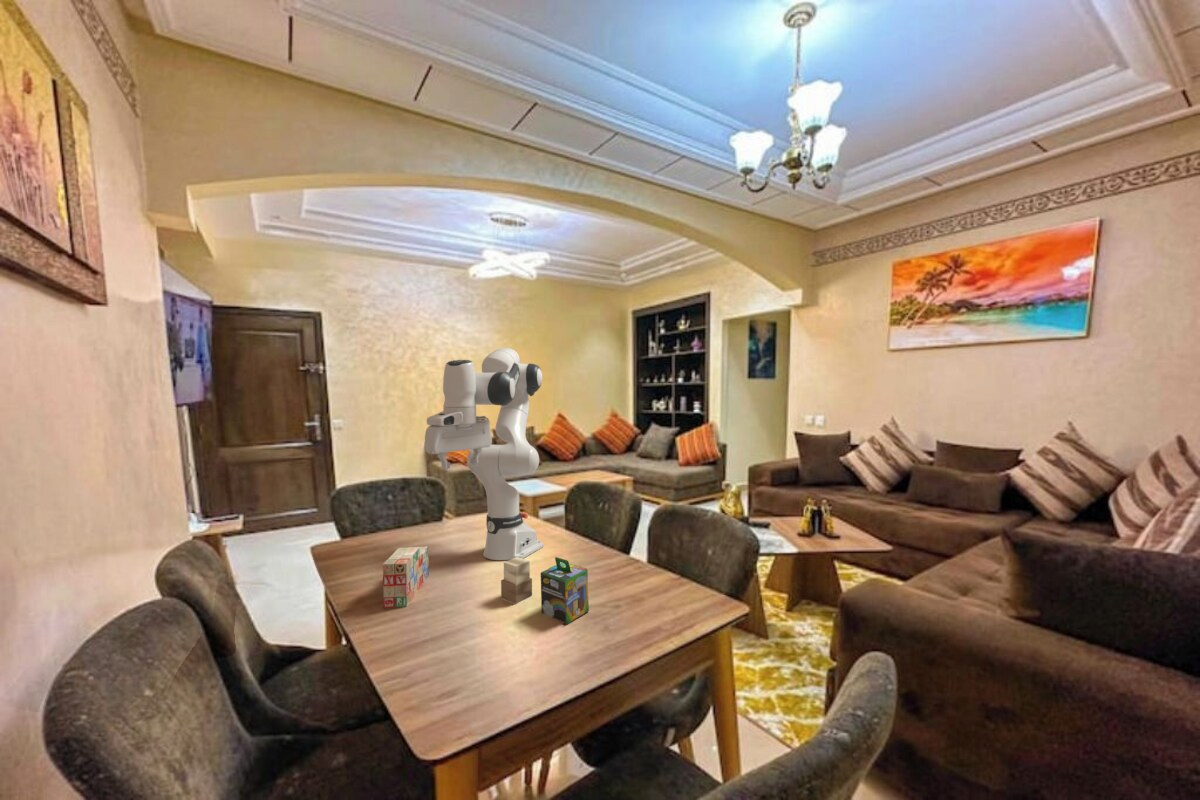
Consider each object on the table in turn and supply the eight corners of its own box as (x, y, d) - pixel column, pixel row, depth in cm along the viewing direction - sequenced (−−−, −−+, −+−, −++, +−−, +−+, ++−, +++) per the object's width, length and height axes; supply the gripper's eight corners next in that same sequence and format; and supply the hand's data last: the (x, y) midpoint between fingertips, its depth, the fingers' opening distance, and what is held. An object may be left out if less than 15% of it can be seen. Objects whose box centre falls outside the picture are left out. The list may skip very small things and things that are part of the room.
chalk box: (589, 611, 120) (589, 556, 120) (565, 626, 113) (565, 567, 112) (563, 601, 126) (563, 548, 125) (539, 614, 119) (539, 558, 118)
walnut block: (517, 590, 131) (517, 573, 131) (532, 595, 128) (531, 578, 128) (501, 598, 127) (501, 580, 126) (516, 604, 123) (516, 585, 123)
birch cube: (517, 574, 131) (517, 556, 130) (529, 578, 128) (529, 560, 127) (503, 580, 127) (503, 562, 126) (516, 584, 124) (516, 566, 123)
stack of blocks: (408, 576, 144) (408, 537, 143) (429, 575, 144) (428, 536, 144) (382, 608, 122) (382, 563, 122) (407, 607, 123) (406, 562, 123)
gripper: (482, 415, 138) (482, 460, 138) (421, 418, 122) (421, 470, 122) (496, 415, 134) (496, 462, 135) (434, 419, 118) (435, 472, 118)
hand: (460, 466), depth 128 cm, fingers open, 8 cm apart
